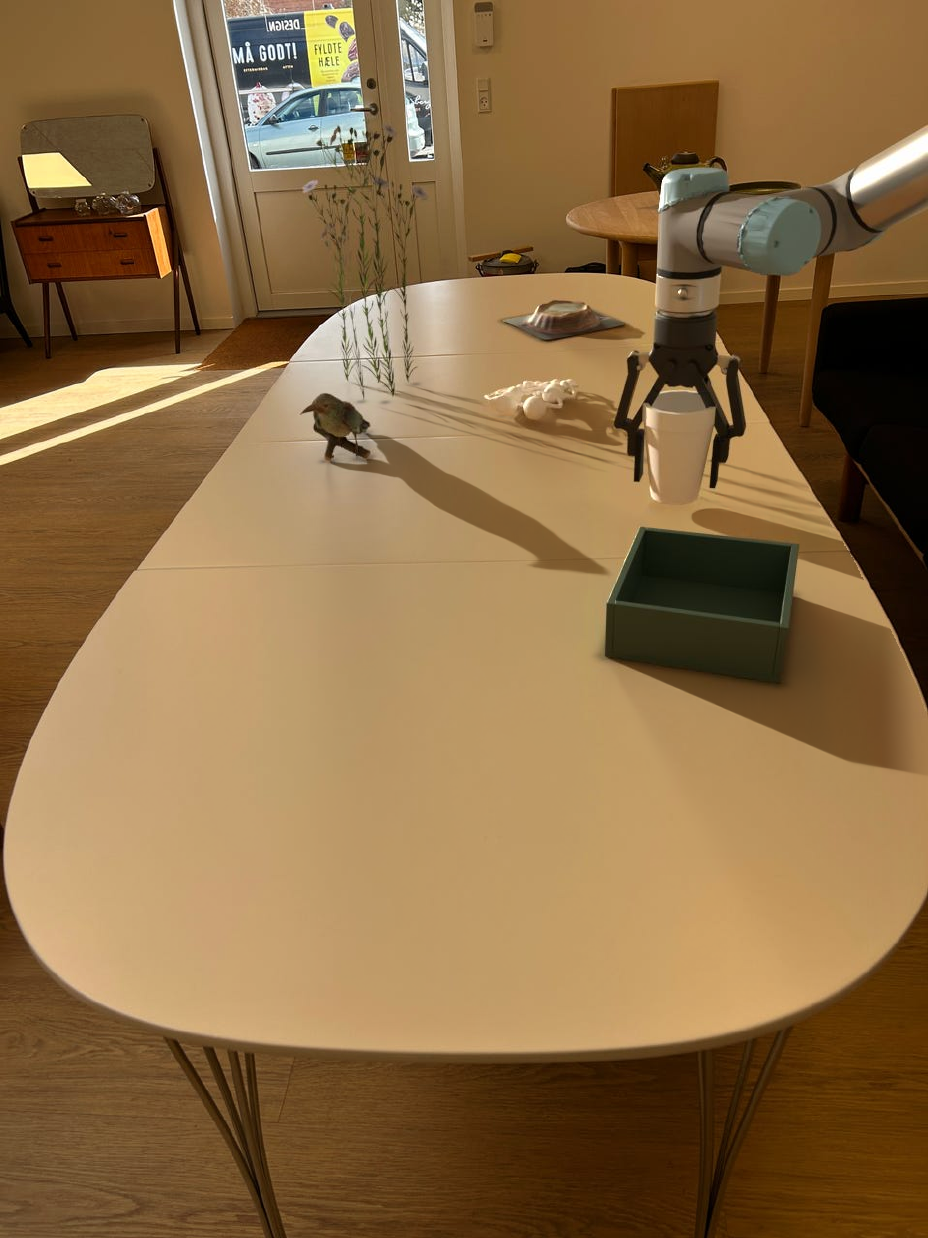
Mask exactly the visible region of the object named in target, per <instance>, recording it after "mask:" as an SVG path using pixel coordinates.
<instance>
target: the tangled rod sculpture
mask: <svg viewBox="0 0 928 1238" xmlns="http://www.w3.org/2000/svg"><path fill="white" fill-rule="evenodd" d="M579 387H580V385H579V384H578V383H577V382H576V381H575V380H574V379H572V378H569V379H566V380H559V379H557V378H555V379H553V380H550V381H545V382H542V381H540V380H536V381H531V380H525V381H523V384H522V383H519V384H517V385H513V386H510V387H505V388H500V389H498V390H496V391H493V392H490V393H488V394H485V395H484V399H486V400H487V407H488V408H490V409H491V410H493V411H496V412H498V413H500V414H502V415H504V416H512V415H514V414H515V413H516V412H517V410H518V408H519V407H520V408H522V409H523V413H524V415H525V417H526V418H528V419H530V420H534V421H535V420H538V419H541V418H542V417H543V416H544V415H545V413H546V411H547V408H549V409H555V410H561V409H562V408H563V406H564V404H563V401H565V400H574V399H575V398H576V397H577V389H576V388H579ZM567 390H570V391H571V394H565V391H567ZM527 395H532V396H530V397H528V398H527V399H526V400H525V401H523V399H524V396H527ZM540 395H542V396H541V397H540ZM492 396H493V397H492Z"/></svg>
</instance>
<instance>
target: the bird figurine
mask: <svg viewBox="0 0 928 1238" xmlns="http://www.w3.org/2000/svg"><path fill="white" fill-rule="evenodd" d="M307 413H312V416H313V420H314V423H313V426H312V429H313V431H314V432H315V433H317V434H319V435H321V436H322V437H323V438H324V439H325V440H326V442H327V444H326V447H325V451H324V457H323V458H324V460H325V461H327V462H330V461H332V460H333V459H335V455H334V451H335V449H336V447H339V448H341V449H344V450H346V451H348V452H350V453H352V454H353V455H355V456H356V458H357V459H358V458H359V457H360V458H363V459H365V460H367V459H369V457H370V455H371V451H370V450H369V449H367V448H365V447H364V446H363V445H359V443H358V438H357V437H358V436H357V435H361V434H362V433H363V434H364V433H367V430H369V428H370V427H371V426H372V425H371V422H369V421H368V420H366V419H365V418H364V416H363V415H362V413H361V412H359V411H358V409H356V407H355V405H353V404H352V403H351V402H350V401H347V400H341V399H340V398H339V397H336V396H335V395H333V394H331V393H327V392H322V393H320V394H319V395H317V396H316V397H315V398H314V399H313V401H312V402H311V404H309V405H308V406H307V407H305V408H304V409H303V410H302V411H301V413H300V414H299V415H303V414H307ZM350 434H352V435H353V437H354V441H355V442H353V441H351V440H349V439H347V436H349V435H350Z"/></svg>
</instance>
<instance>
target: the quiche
mask: <svg viewBox="0 0 928 1238" xmlns="http://www.w3.org/2000/svg"><path fill="white" fill-rule="evenodd" d="M502 322H504V323H507V324H510V325H512V326H514V327H517V328H519V329H521V330H523V331H524V332H527V333H529V334H531V335H532V336H534V337H536V338H538V339H541V340H543V341H544V340H546V341H547V340H555V339H562V338H566V337H572V336H577V335H582V334H587V333H592V332H597V331H601V330H605V329H610V328H615V327H619V326H624V325H627V322H625V321H622V320H618V319H616V318H611V317H608V316H605V315H603V314H601V313H599V312H597V311H595V310H593V309H592V308H591V306H590V305H588V304H586V303H585V302H584V301H580V300H577V301H572V300H565V299H564V300H561V299H560V300H559V299H552V300H551V301H548V302H546V303H541V304H540V305H538V306H537V308H536V309H535V311H534V313H531V314H526V315H522V316H517V317H511V318H506V319H502Z"/></svg>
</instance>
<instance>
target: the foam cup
mask: <svg viewBox="0 0 928 1238" xmlns="http://www.w3.org/2000/svg"><path fill="white" fill-rule="evenodd" d="M645 398H646V396H645ZM645 398H644V399H643V401H644V400H645ZM642 403H643V402H642ZM716 407H717V406H716ZM716 407H709V408H707V409H706V407H705V405H704V403H703V401H702V398H701V396H700V395H699V394H698V392H697V390H691V389H668V390H664V391H661V392H660V393H659V395H658V396H657V398H656V400H655V401H654V403H653V405H652V406H650V405H649V404H648V403H643V415H642V423H643V429H644V430H645V441H644V442H645V450H646V451H645V452H646V462H647V473H648V483H649V492H650V496H651V499H653V500H654V501H656V502H658V503H660V504H664V505H670V506H678V505H679V506H683V505H687V504H688V505H689V504H692V503H694V502H695V501H697V500H698V498H699V493H700V491H701V487H702V483H703V477H704V472H705V468H706V464H707V459H708V454H709V451H710V447H711V446H710V445H711V441H712V437H713V432H714V429H715V427H714V422H715V410H716Z"/></svg>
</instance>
